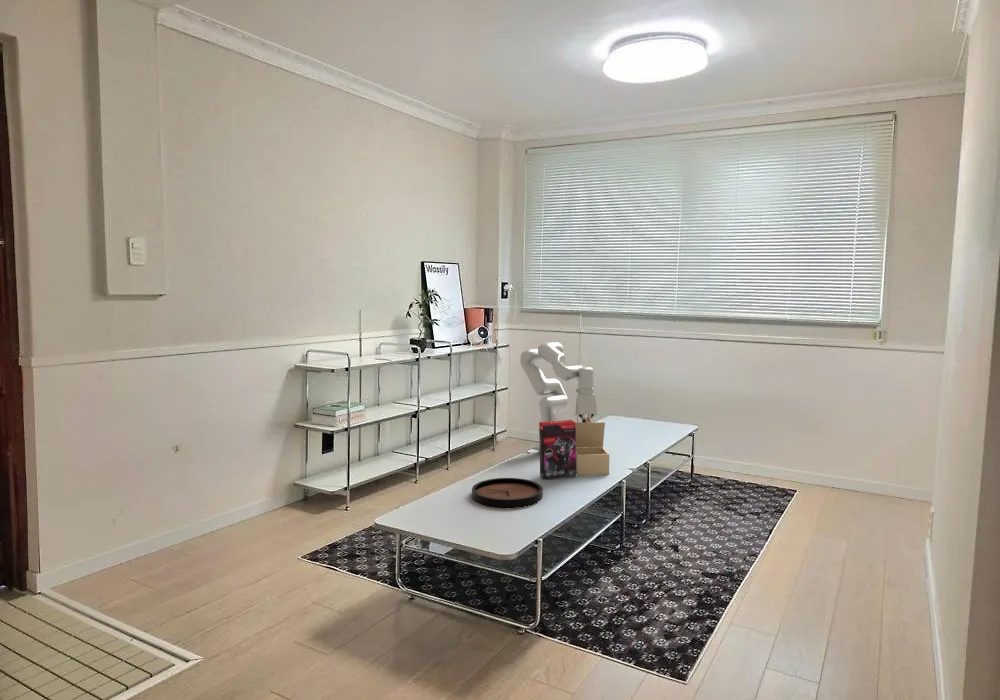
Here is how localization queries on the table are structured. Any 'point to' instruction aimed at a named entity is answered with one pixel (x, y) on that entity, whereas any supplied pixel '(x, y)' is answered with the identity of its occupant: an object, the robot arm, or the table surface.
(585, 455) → the carton
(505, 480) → the wall clock
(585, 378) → the robot arm
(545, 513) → the table surface
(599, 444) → the flap
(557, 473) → the graphics card box
